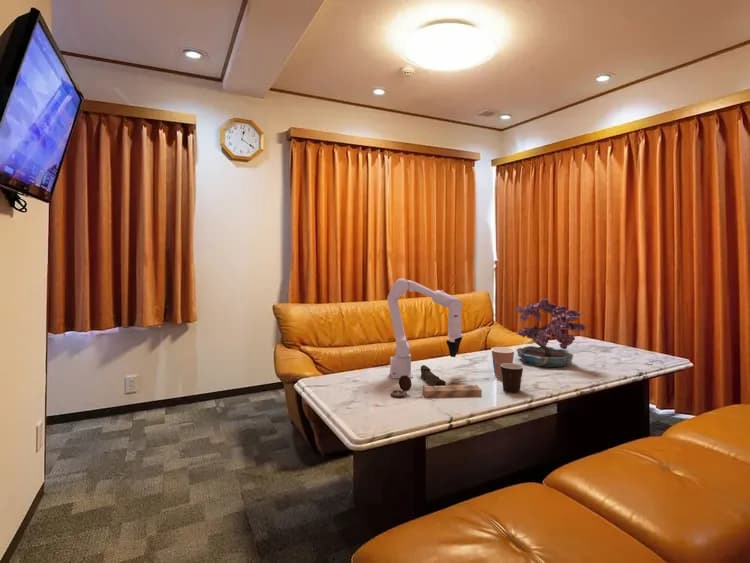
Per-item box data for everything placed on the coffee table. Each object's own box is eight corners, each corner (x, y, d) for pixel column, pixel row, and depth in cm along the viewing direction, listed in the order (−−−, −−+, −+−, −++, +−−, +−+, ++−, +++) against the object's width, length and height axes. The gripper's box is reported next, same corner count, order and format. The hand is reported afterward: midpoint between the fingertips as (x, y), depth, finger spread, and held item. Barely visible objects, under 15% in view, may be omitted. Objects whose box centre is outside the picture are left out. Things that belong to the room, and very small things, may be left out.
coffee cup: (491, 371, 193) (491, 346, 192) (514, 373, 189) (515, 347, 188) (489, 377, 183) (490, 351, 182) (514, 380, 180) (514, 352, 179)
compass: (387, 395, 160) (387, 377, 160) (400, 391, 166) (400, 373, 165) (402, 400, 155) (402, 381, 154) (416, 395, 160) (416, 377, 160)
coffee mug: (507, 385, 172) (507, 362, 171) (526, 390, 166) (527, 366, 165) (491, 391, 164) (492, 367, 164) (511, 397, 158) (511, 371, 157)
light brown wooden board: (425, 397, 158) (425, 390, 158) (422, 392, 164) (422, 385, 164) (481, 396, 159) (481, 389, 159) (476, 391, 165) (476, 384, 165)
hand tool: (446, 391, 165) (446, 378, 165) (434, 392, 164) (434, 378, 164) (428, 375, 188) (428, 363, 187) (418, 376, 187) (418, 364, 186)
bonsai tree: (504, 357, 219) (505, 296, 217) (547, 353, 226) (548, 295, 224) (548, 376, 185) (550, 304, 183) (597, 371, 193) (599, 302, 190)
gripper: (461, 328, 175) (461, 359, 176) (465, 322, 188) (465, 351, 189) (445, 327, 177) (444, 358, 178) (450, 321, 191) (450, 350, 192)
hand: (454, 354), depth 184 cm, fingers open, 7 cm apart
